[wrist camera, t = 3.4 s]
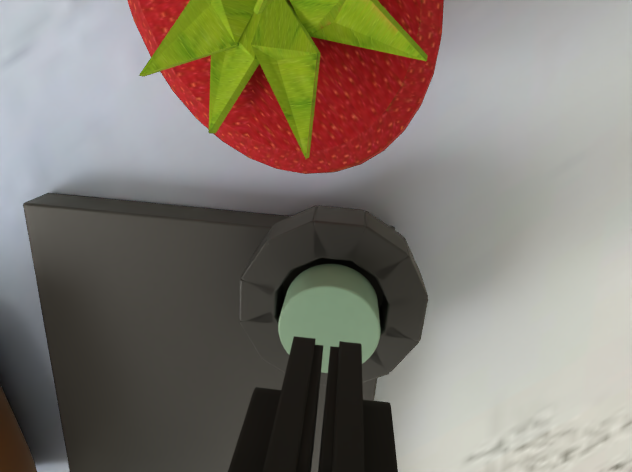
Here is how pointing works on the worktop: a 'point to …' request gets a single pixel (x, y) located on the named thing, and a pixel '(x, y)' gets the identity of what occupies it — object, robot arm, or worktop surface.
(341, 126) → the strawberry
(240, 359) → the scale
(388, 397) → the worktop surface
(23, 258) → the worktop surface
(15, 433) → the mug
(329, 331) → the button
